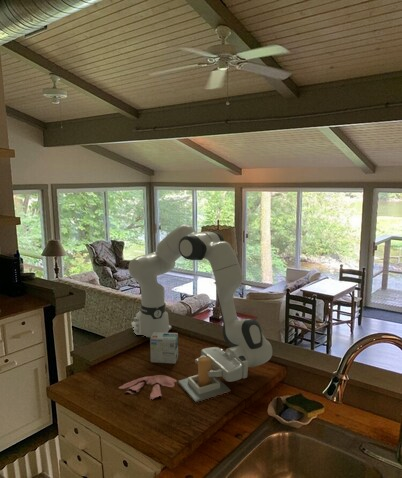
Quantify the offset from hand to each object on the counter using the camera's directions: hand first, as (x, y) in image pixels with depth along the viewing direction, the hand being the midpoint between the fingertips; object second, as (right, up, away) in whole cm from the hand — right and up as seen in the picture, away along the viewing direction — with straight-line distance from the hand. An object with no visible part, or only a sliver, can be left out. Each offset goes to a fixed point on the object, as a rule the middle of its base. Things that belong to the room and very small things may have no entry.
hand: (201, 367), depth 137 cm
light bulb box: (-16, -4, +22) cm, 28 cm away
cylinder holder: (+1, -8, +2) cm, 8 cm away
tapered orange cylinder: (+1, -7, +2) cm, 7 cm away
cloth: (-20, -9, +1) cm, 22 cm away
